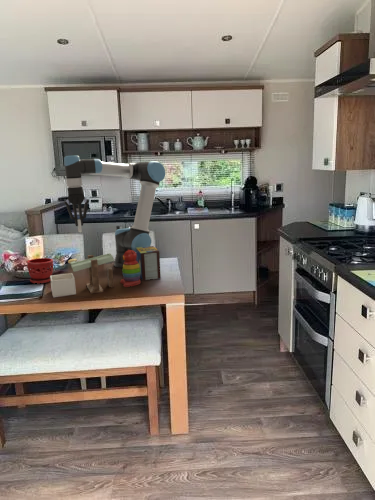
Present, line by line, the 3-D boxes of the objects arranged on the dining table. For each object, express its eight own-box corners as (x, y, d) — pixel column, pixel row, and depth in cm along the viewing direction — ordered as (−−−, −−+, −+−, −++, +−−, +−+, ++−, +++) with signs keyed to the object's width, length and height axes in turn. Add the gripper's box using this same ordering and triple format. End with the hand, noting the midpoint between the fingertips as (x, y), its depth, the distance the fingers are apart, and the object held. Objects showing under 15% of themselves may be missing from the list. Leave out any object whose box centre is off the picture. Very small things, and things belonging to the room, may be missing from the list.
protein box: (154, 271, 220) (153, 245, 217) (160, 278, 205) (159, 251, 202) (136, 273, 217) (135, 247, 214) (141, 281, 202) (140, 252, 199)
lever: (107, 255, 205) (106, 249, 204) (114, 262, 189) (113, 256, 188) (68, 265, 198) (67, 259, 198) (72, 274, 182) (70, 267, 181)
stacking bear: (119, 282, 201) (117, 249, 198) (137, 279, 205) (136, 247, 202) (124, 287, 192) (122, 253, 188) (143, 284, 196) (142, 251, 192)
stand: (109, 282, 202) (107, 252, 198) (115, 290, 188) (113, 258, 185) (86, 285, 197) (84, 255, 194) (90, 293, 184) (88, 261, 180)
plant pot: (47, 285, 199) (44, 263, 196) (24, 284, 201) (21, 262, 199) (59, 278, 211) (57, 257, 209) (37, 277, 214) (35, 257, 211)
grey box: (73, 288, 193) (72, 273, 191) (76, 294, 183) (74, 278, 181) (51, 291, 189) (50, 275, 187) (52, 297, 179) (51, 281, 178)
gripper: (86, 185, 200) (91, 229, 205) (60, 187, 195) (66, 232, 200) (88, 186, 193) (93, 231, 198) (62, 188, 188) (68, 234, 193)
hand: (80, 232), depth 199 cm, fingers closed
